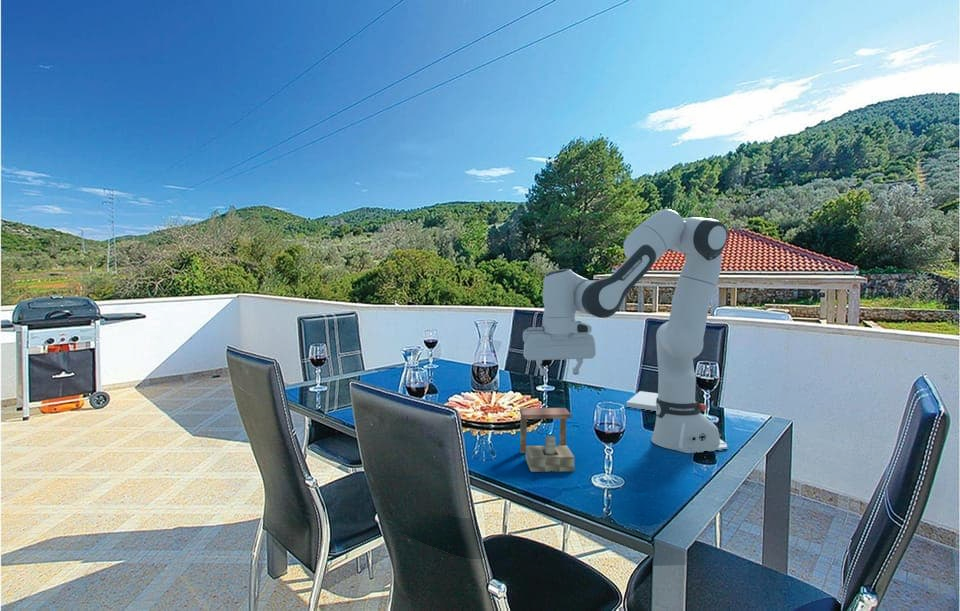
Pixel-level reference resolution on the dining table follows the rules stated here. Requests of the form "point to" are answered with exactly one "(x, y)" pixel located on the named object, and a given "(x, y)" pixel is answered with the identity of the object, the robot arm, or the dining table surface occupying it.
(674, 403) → the robot arm
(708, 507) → the dining table surface
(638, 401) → the food packaging
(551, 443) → the peg
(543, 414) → the brown wooden arch
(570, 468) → the socket block
